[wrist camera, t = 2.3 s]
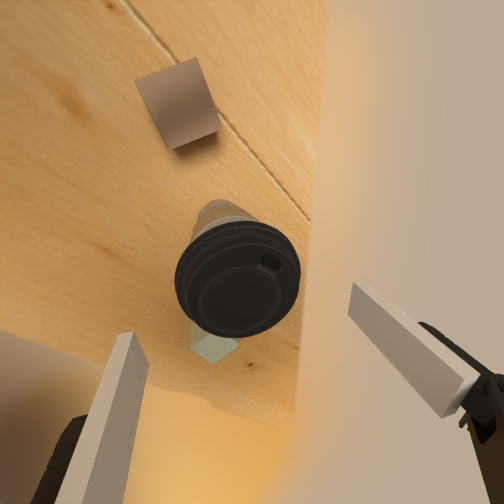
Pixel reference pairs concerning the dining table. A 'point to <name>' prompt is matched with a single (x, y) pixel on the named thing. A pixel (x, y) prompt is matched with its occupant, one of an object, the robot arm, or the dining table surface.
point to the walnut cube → (180, 103)
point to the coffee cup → (236, 273)
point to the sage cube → (210, 344)
